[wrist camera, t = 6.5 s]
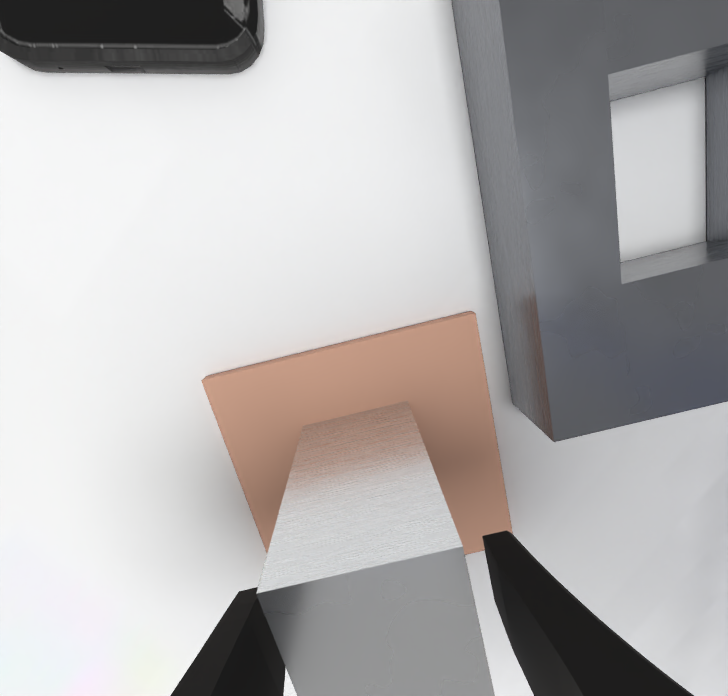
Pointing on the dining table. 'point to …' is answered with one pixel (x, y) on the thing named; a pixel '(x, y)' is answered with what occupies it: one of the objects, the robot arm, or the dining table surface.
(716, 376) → the socket plate
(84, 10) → the phone
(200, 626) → the dining table surface
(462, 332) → the mat
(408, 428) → the steel peg
